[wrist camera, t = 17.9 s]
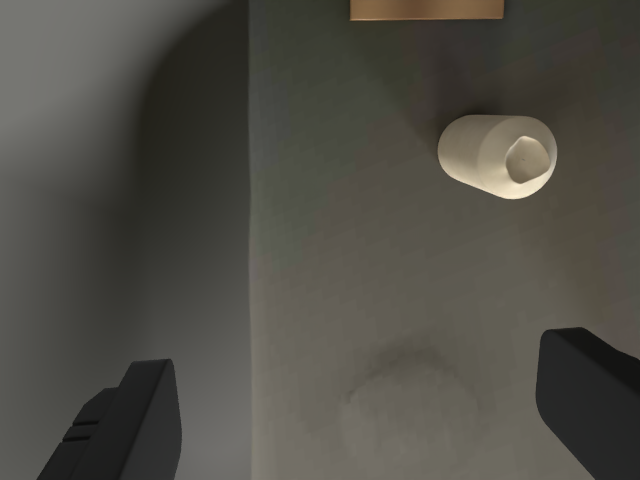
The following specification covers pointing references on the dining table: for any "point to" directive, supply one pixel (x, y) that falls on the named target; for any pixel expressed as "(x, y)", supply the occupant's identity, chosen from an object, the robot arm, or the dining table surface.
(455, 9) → the cork mat
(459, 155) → the candle
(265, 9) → the dining table surface
